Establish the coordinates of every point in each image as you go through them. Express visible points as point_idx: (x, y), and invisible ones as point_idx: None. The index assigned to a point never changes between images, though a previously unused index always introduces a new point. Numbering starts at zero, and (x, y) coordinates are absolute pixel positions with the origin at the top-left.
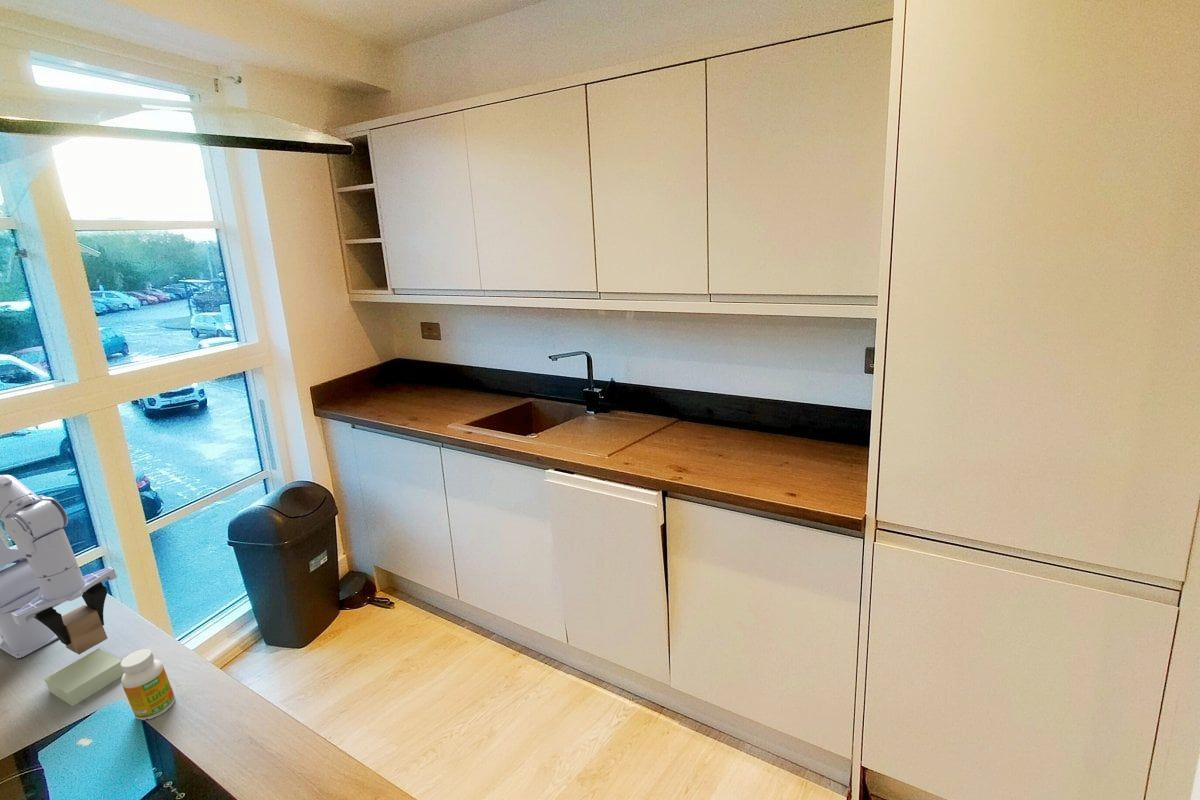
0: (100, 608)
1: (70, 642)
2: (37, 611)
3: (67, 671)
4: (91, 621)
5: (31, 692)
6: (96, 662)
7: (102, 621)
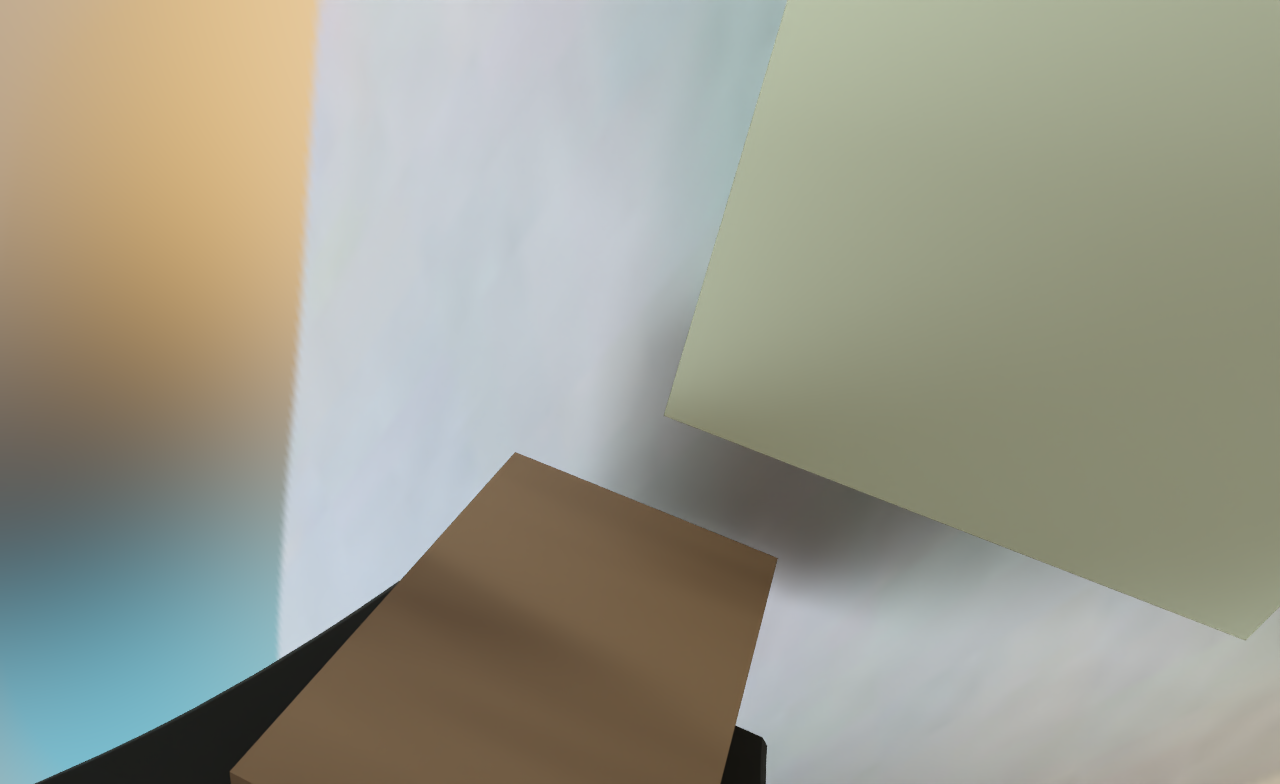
0: (191, 749)
1: None
2: None
3: (1113, 460)
4: (424, 707)
5: (1163, 677)
6: (928, 188)
7: (372, 611)
